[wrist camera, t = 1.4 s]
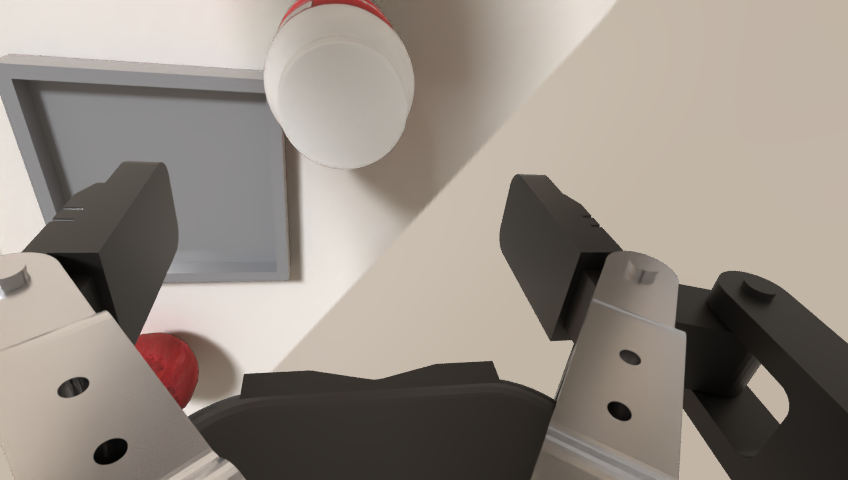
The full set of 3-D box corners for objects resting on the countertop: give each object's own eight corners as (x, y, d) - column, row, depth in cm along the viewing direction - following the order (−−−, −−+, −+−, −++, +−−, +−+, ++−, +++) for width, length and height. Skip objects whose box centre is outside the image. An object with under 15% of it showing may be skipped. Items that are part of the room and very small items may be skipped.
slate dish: (9, 53, 24) (-12, 62, 23) (281, 71, 27) (279, 80, 25) (79, 267, 31) (67, 284, 29) (290, 264, 34) (288, 280, 32)
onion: (128, 299, 33) (79, 393, 26) (217, 319, 35) (192, 411, 28) (113, 358, 35) (65, 458, 29) (197, 373, 37) (170, 470, 31)
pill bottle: (415, 53, 27) (461, 118, 18) (336, 124, 29) (342, 216, 20) (337, -45, 24) (346, -27, 15) (253, 40, 26) (214, 103, 16)
